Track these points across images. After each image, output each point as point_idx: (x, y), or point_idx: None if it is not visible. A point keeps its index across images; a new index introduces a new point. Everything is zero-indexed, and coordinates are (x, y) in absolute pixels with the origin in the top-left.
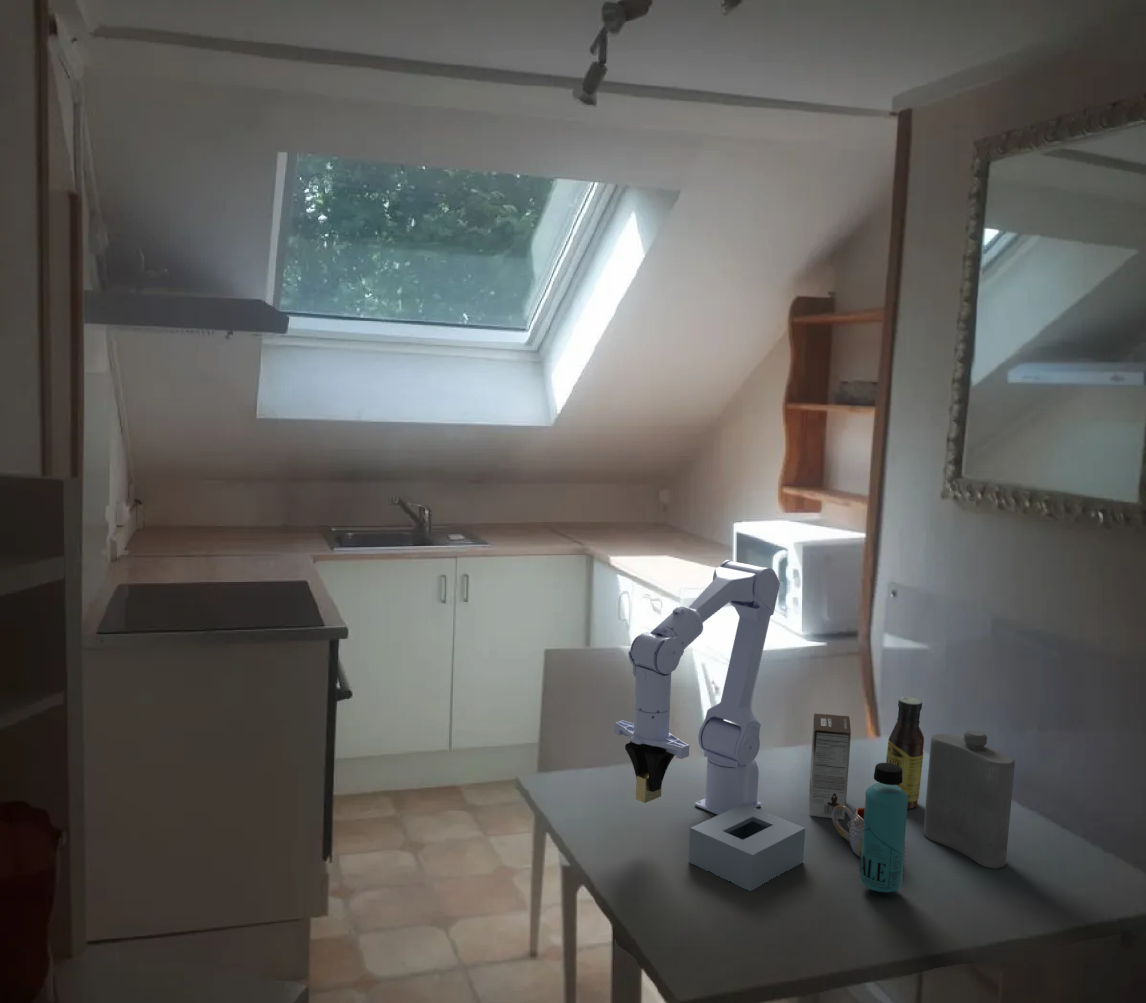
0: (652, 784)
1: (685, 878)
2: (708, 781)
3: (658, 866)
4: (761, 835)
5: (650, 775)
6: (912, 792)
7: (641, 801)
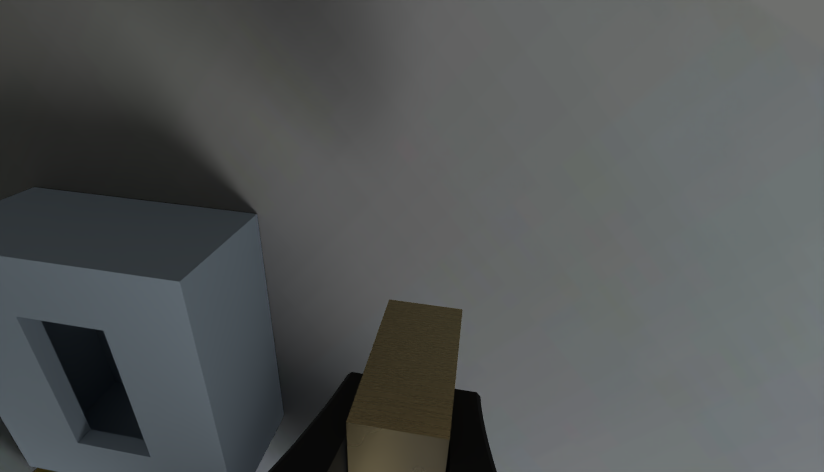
0: (322, 409)
1: (182, 116)
2: None
3: (296, 120)
4: (25, 373)
5: (303, 467)
6: None
7: (415, 303)
